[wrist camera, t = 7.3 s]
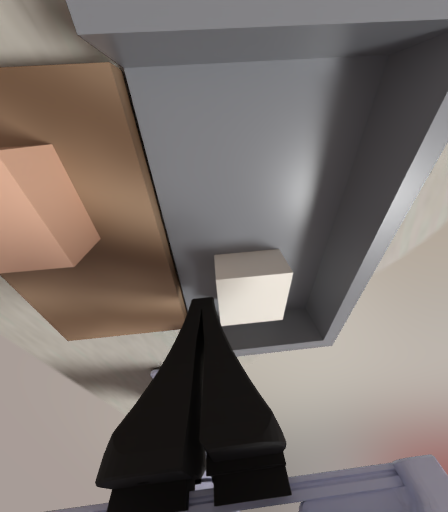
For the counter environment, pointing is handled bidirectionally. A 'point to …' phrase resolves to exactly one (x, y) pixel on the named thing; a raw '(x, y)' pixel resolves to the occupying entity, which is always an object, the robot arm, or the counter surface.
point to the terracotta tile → (40, 212)
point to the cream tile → (252, 286)
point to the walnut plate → (95, 202)
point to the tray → (282, 136)
